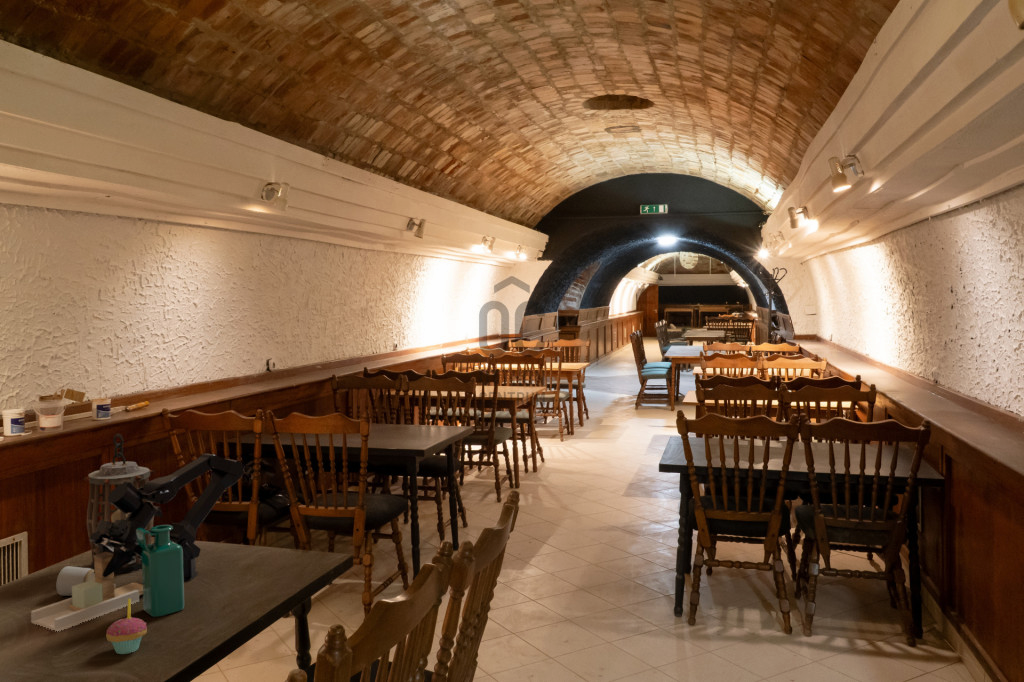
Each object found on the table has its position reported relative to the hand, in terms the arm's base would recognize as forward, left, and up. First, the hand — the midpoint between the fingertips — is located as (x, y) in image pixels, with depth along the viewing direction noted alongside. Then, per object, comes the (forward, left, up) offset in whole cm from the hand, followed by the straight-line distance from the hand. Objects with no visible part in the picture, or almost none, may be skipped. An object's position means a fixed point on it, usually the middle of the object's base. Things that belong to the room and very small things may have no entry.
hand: (99, 575), depth 210 cm
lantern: (+11, -32, -9) cm, 35 cm away
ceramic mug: (+11, -10, -9) cm, 17 cm away
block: (+2, +3, -7) cm, 7 cm away
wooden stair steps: (-1, -3, -8) cm, 8 cm away
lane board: (+2, +3, -9) cm, 9 cm away
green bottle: (-17, +2, -9) cm, 19 cm away
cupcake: (-20, +25, -9) cm, 33 cm away
